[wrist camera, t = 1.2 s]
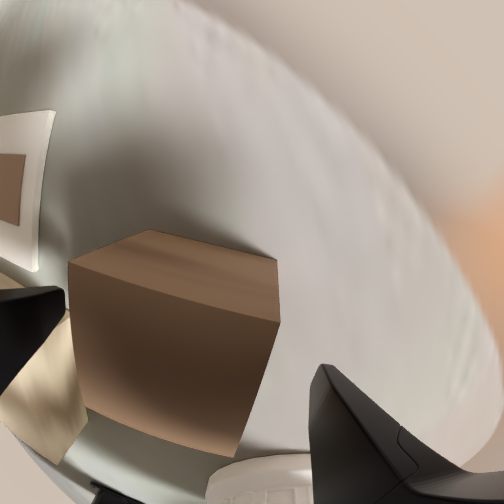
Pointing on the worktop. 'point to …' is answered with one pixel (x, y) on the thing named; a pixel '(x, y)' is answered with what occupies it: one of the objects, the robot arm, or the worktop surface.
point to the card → (22, 184)
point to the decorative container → (263, 481)
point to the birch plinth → (46, 394)
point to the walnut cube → (173, 336)
